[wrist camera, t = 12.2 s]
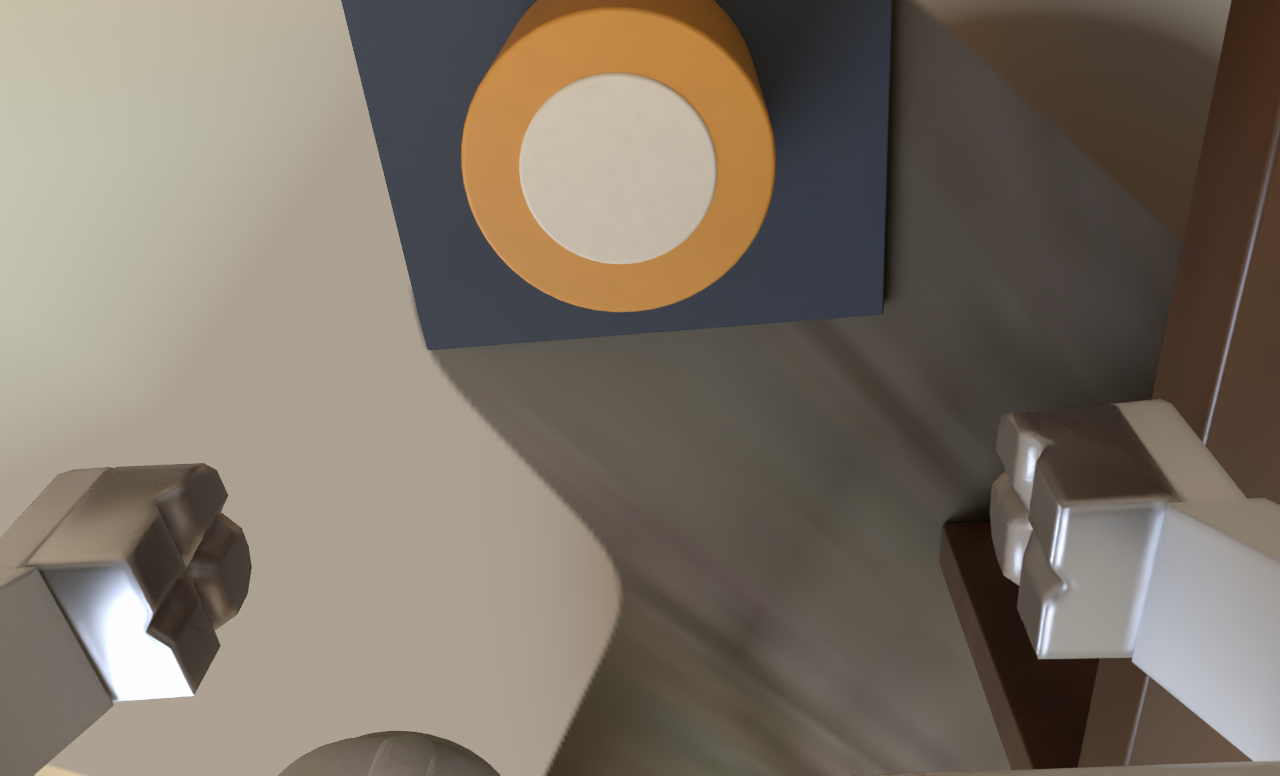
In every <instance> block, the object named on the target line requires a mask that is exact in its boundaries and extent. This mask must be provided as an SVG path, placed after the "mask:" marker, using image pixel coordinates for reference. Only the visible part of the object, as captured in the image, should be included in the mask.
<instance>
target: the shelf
mask: <svg viewBox="0 0 1280 776" xmlns="http://www.w3.org/2000/svg"><path fill="white" fill-rule="evenodd" d="M1155 399H1162V400H1165V401H1167V402H1169V403H1171V404H1172V405H1173V406H1174V407H1175V408H1176V410H1177V411H1178V412H1179V413H1180V415H1181V416H1182V417H1183V418H1184V420H1185V421H1186V422H1187V423H1188V425H1189V426H1190V427H1191V428H1192V430H1193V431H1194V432H1195V433H1196V435H1197V436H1198V437H1199V438H1200V440H1201V441H1202V442H1203V443H1204V445H1205V446H1206V447H1207V448H1208V450H1209V451H1210V452H1211V453H1212V455H1213V456H1214V457H1215V458H1216V460H1217V461H1218V462H1219V464H1220V465H1221V466H1222V467H1223V469H1224V470H1225V471H1226V472H1227V474H1228V475H1229V476H1230V477H1231V479H1232V480H1233V481H1234V482H1235V484H1236V485H1237V486H1238V487H1239V489H1240V490H1241V491H1242V492H1243V494H1244V495H1245V496H1246V497H1247V499H1252V498H1266V499H1268V500H1271V501H1273V502H1275V503H1277V504H1279V505H1280V0H1232V1H1231V6H1230V11H1229V16H1228V21H1227V26H1226V31H1225V36H1224V41H1223V46H1222V51H1221V56H1220V62H1219V66H1218V71H1217V76H1216V81H1215V86H1214V91H1213V96H1212V101H1211V106H1210V111H1209V116H1208V121H1207V126H1206V131H1205V136H1204V142H1203V146H1202V151H1201V156H1200V161H1199V166H1198V171H1197V176H1196V181H1195V186H1194V191H1193V196H1192V201H1191V206H1190V211H1189V216H1188V221H1187V226H1186V231H1185V235H1184V240H1183V245H1182V250H1181V255H1180V260H1179V265H1178V270H1177V275H1176V280H1175V285H1174V290H1173V295H1172V300H1171V305H1170V310H1169V315H1168V320H1167V325H1166V330H1165V335H1164V340H1163V345H1162V350H1161V355H1160V360H1159V365H1158V370H1157V375H1156V380H1155V385H1154V390H1153V395H1152V400H1155ZM940 566H941V569H942V572H943V575H944V577H945V580H946V583H947V586H948V589H949V592H950V595H951V597H952V600H953V603H954V606H955V609H956V612H957V615H958V618H959V620H960V623H961V626H962V629H963V632H964V635H965V638H966V641H967V643H968V646H969V649H970V652H971V655H972V658H973V661H974V663H975V666H976V669H977V672H978V675H979V678H980V681H981V684H982V686H983V689H984V692H985V695H986V698H987V701H988V704H989V706H990V709H991V712H992V715H993V718H994V721H995V724H996V727H997V729H998V732H999V735H1000V738H1001V741H1002V744H1003V747H1004V750H1005V752H1006V755H1007V758H1008V761H1009V764H1010V767H1011V770H1032V769H1058V768H1084V767H1111V766H1137V765H1163V764H1193V763H1222V762H1251V761H1253V760H1251V759H1250V758H1249V757H1248V756H1246V755H1245V754H1244V753H1243V752H1242V751H1240V750H1239V749H1238V748H1237V747H1235V746H1234V745H1233V744H1232V743H1231V742H1229V741H1228V740H1227V739H1226V738H1224V737H1223V736H1222V735H1221V734H1220V733H1218V732H1217V731H1216V730H1215V729H1213V728H1212V727H1211V726H1210V725H1209V724H1207V723H1206V722H1205V721H1204V720H1202V719H1201V718H1200V717H1199V716H1198V715H1196V714H1195V713H1194V712H1193V711H1191V710H1190V709H1189V708H1188V707H1186V706H1185V705H1184V704H1183V703H1182V702H1180V701H1179V700H1178V699H1177V698H1175V697H1174V696H1173V695H1172V694H1171V693H1169V692H1168V691H1167V690H1166V689H1164V688H1163V687H1162V686H1161V685H1160V684H1158V683H1157V682H1156V681H1155V680H1153V679H1152V678H1151V677H1150V676H1149V675H1147V674H1146V673H1145V672H1144V671H1142V670H1141V669H1140V668H1139V667H1138V666H1136V665H1135V664H1134V663H1133V662H1132V658H1079V659H1038V658H1037V656H1036V653H1035V651H1034V648H1033V646H1032V644H1031V641H1030V639H1029V636H1028V634H1027V631H1026V629H1025V627H1024V624H1023V622H1022V619H1021V617H1020V615H1019V612H1018V610H1017V602H1018V594H1019V585H1017V584H1016V583H1014V582H1013V581H1011V580H1010V579H1008V578H1007V577H1005V576H1004V575H1003V572H1002V570H1001V567H1000V565H999V562H998V559H997V556H996V552H995V548H994V544H993V540H992V533H991V521H989V522H973V523H958V524H944V525H943V527H942V540H941V553H940Z"/></svg>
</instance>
